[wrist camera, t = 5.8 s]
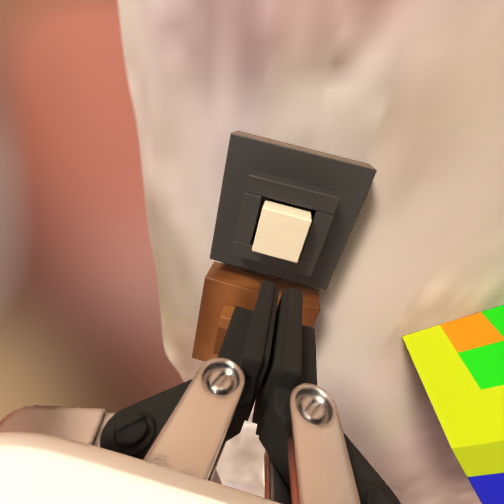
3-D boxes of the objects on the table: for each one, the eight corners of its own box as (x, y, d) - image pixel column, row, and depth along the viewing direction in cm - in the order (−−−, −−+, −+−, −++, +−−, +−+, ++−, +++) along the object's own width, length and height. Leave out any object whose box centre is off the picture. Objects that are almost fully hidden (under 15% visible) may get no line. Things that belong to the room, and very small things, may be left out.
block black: (370, 164, 20) (384, 175, 17) (324, 276, 25) (327, 304, 22) (237, 130, 21) (224, 134, 17) (216, 247, 26) (202, 269, 22)
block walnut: (318, 290, 26) (321, 322, 22) (288, 363, 31) (286, 401, 27) (214, 261, 26) (198, 288, 22) (200, 338, 31) (185, 371, 27)
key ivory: (311, 211, 19) (312, 220, 17) (297, 252, 21) (297, 263, 19) (265, 199, 19) (262, 207, 18) (255, 240, 21) (251, 251, 19)
